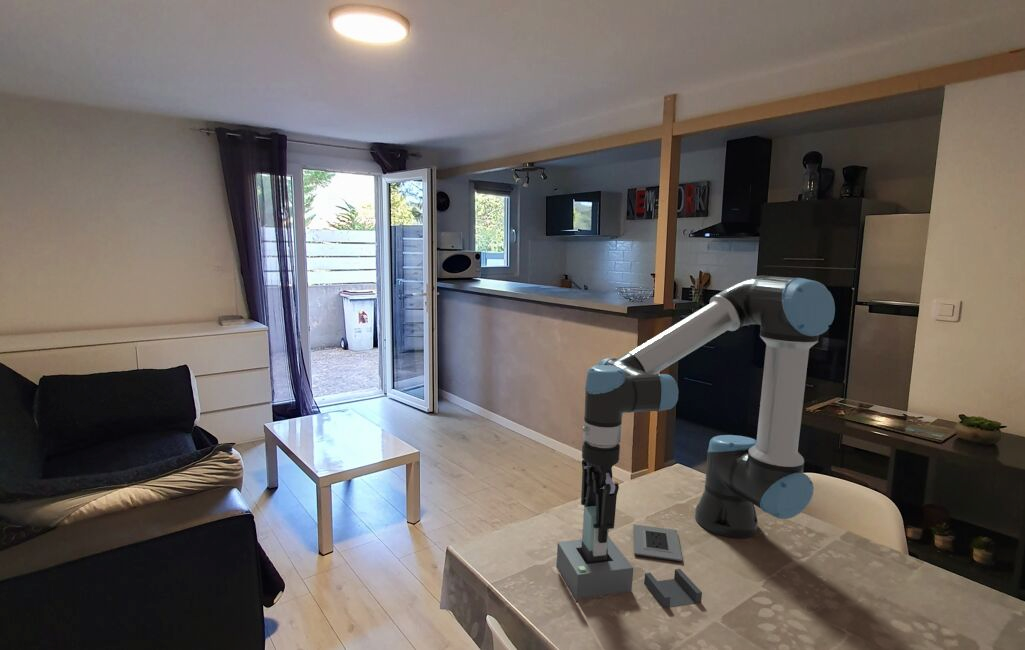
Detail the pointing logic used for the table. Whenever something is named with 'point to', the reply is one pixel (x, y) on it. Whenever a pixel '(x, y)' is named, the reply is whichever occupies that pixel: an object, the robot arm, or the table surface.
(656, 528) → the electrical outlet
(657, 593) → the grey u-channel bracket
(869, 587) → the table surface
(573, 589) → the port block
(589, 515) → the plug
